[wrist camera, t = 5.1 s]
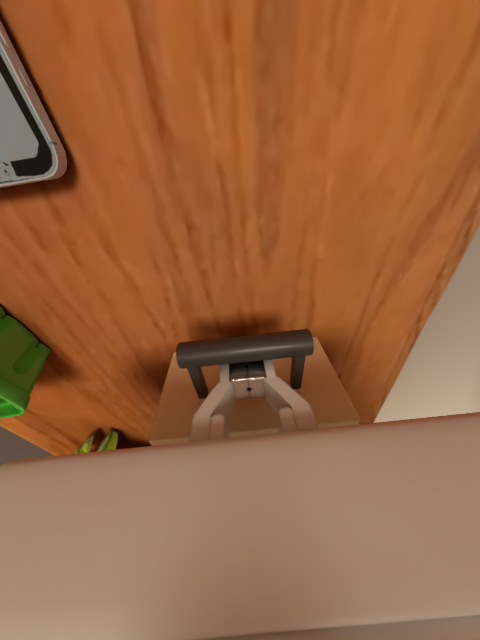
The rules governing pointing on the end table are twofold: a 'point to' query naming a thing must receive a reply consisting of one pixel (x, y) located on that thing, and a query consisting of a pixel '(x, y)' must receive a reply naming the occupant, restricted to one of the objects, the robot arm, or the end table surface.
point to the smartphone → (24, 126)
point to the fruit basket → (18, 365)
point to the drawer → (252, 414)
